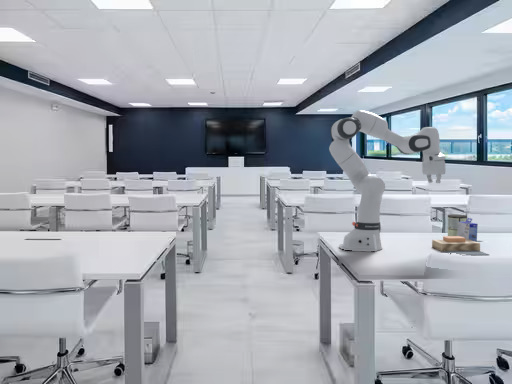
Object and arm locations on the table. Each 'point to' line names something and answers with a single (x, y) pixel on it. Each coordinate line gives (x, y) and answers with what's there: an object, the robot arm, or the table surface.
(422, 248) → the table surface
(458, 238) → the block
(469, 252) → the mat
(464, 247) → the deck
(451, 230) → the coffee can
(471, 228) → the ink cartridge box
